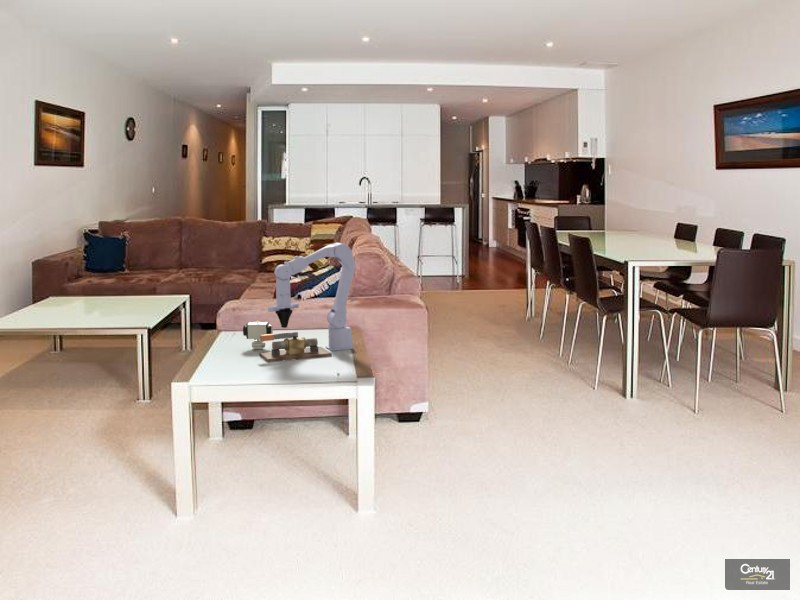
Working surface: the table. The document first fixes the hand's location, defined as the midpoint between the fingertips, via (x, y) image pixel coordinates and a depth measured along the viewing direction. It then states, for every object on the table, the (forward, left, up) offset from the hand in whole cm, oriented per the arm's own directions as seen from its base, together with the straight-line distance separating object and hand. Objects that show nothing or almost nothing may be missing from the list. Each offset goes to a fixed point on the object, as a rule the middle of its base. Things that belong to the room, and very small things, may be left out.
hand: (284, 327), depth 327 cm
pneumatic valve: (+8, -12, -11) cm, 18 cm away
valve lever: (+4, +8, -3) cm, 10 cm away
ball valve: (-2, +8, -10) cm, 13 cm away
